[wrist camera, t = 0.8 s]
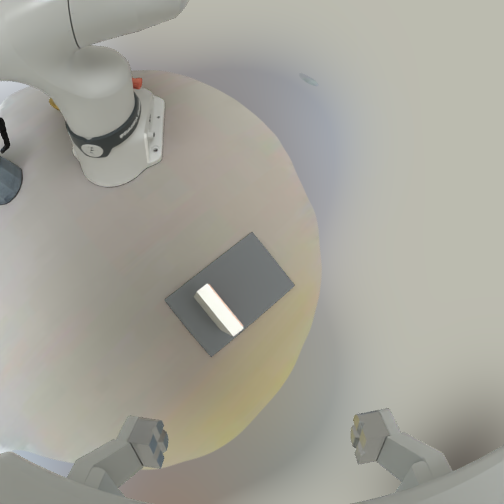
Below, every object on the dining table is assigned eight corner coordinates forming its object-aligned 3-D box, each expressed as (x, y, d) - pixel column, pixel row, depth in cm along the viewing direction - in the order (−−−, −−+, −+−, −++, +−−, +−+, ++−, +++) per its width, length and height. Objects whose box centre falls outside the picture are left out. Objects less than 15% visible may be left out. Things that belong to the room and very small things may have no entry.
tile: (220, 330, 47) (233, 336, 34) (193, 296, 47) (196, 291, 34) (228, 323, 47) (245, 327, 35) (201, 290, 47) (208, 282, 35)
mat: (210, 356, 46) (211, 357, 45) (164, 300, 46) (164, 300, 45) (293, 285, 52) (294, 285, 51) (251, 232, 52) (252, 231, 51)
